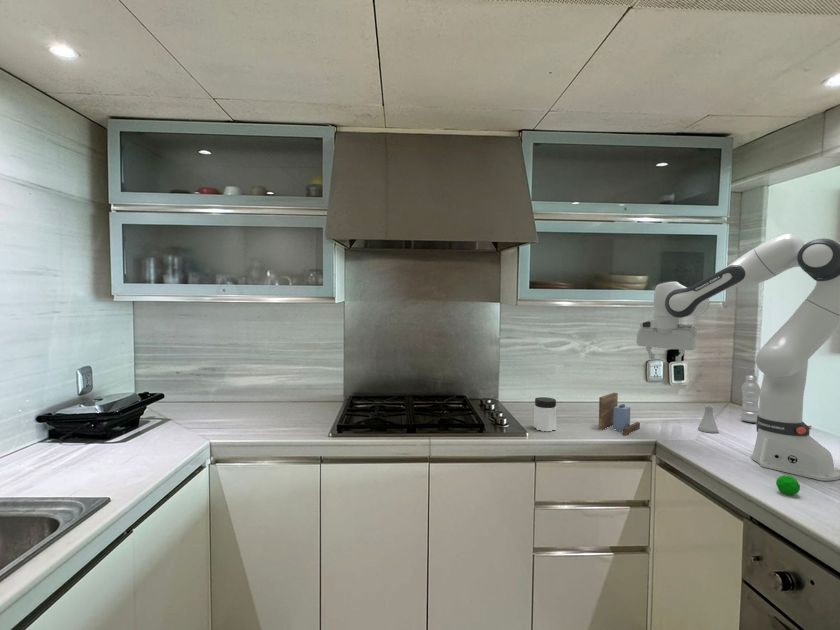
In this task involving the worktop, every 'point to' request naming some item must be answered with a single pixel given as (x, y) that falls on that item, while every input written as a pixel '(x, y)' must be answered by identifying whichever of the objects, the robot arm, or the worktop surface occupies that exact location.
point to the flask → (708, 421)
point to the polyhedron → (788, 485)
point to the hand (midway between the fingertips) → (664, 359)
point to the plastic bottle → (750, 399)
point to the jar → (545, 414)
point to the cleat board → (611, 413)
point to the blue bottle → (621, 417)
